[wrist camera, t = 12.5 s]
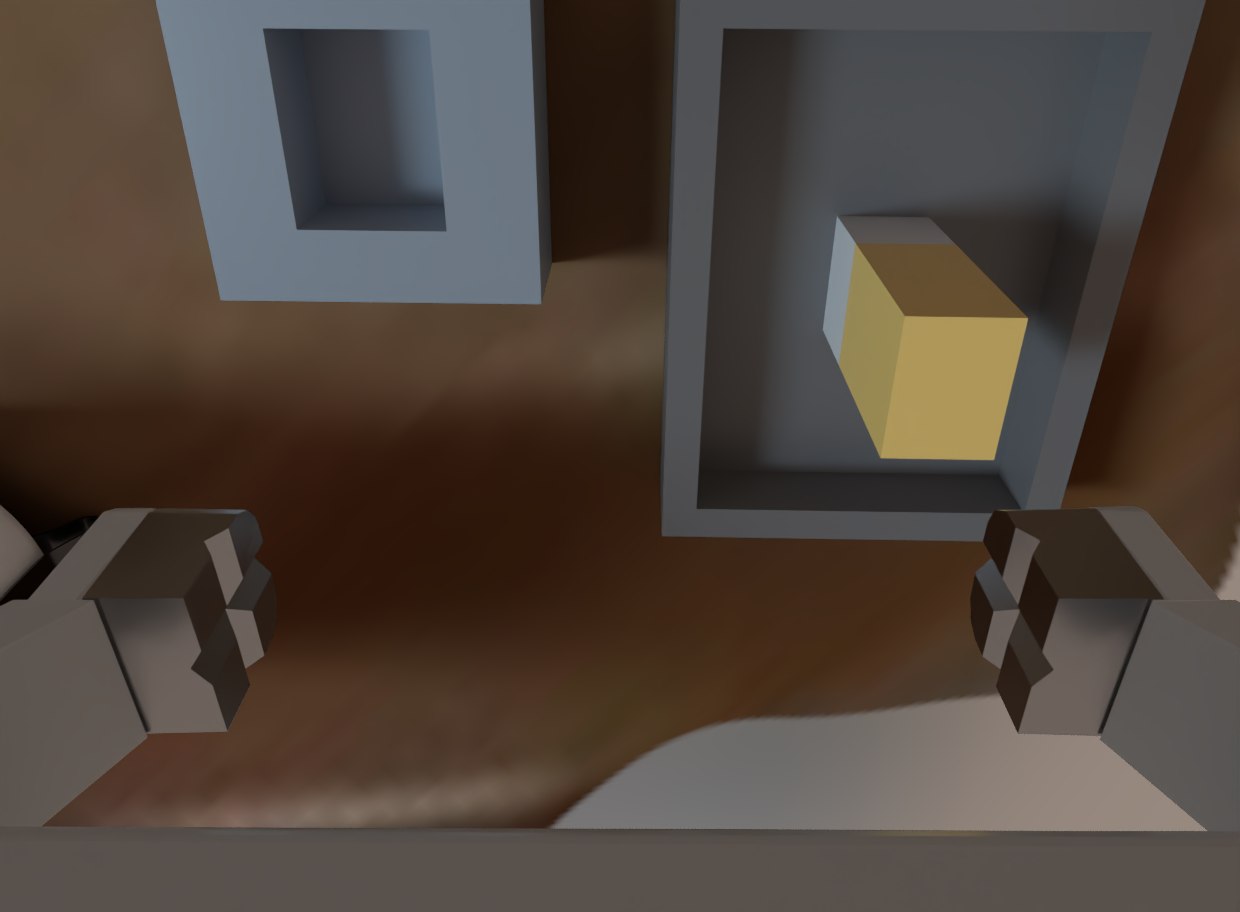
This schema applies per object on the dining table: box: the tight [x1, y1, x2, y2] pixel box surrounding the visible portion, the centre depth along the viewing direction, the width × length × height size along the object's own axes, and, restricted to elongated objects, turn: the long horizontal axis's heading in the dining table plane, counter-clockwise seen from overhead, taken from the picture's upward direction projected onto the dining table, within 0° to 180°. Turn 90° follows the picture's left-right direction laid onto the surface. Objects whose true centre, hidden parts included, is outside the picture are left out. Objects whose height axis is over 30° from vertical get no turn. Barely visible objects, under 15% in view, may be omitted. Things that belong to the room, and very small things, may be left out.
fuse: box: [823, 216, 1028, 460], centre depth 28 cm, size 4×3×9 cm
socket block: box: [156, 0, 552, 304], centre depth 28 cm, size 10×10×4 cm
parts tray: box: [660, 0, 1206, 541], centre depth 31 cm, size 18×14×4 cm
